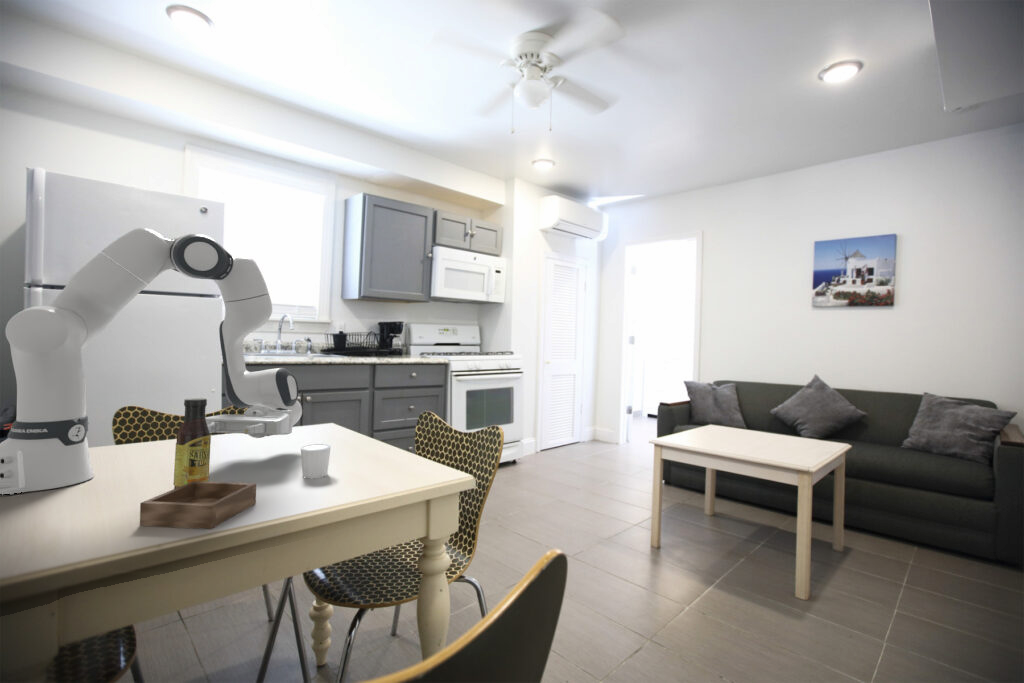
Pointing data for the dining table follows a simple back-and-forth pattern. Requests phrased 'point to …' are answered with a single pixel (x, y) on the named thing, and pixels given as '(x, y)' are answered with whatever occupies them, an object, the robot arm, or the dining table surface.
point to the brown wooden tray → (197, 505)
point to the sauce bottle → (192, 445)
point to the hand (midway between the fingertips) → (227, 430)
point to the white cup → (315, 460)
